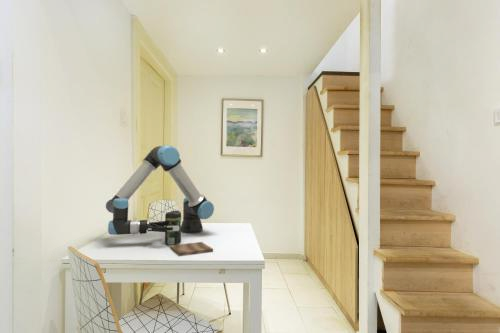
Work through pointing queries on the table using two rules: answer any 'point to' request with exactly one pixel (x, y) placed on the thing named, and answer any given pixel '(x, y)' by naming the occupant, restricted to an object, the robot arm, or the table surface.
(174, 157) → the robot arm
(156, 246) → the table surface
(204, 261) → the table surface
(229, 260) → the table surface
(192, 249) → the walnut board
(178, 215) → the coffee jar
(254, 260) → the table surface
